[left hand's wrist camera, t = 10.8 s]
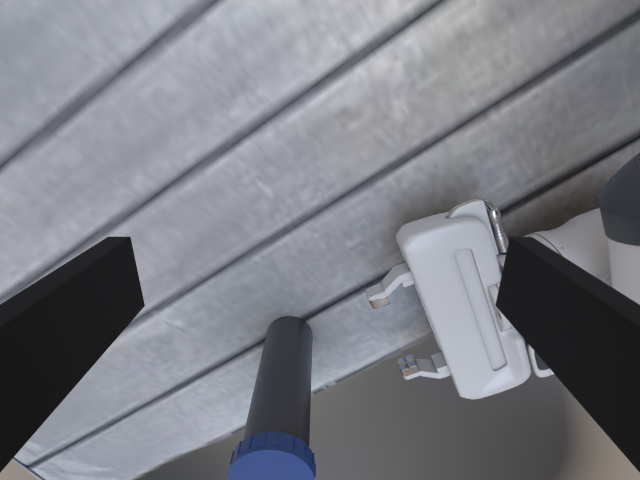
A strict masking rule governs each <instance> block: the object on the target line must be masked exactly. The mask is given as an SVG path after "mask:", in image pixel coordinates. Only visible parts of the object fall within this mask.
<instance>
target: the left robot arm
mask: <svg viewBox="0 0 640 480" xmlns="http://www.w3.org/2000/svg"><path fill="white" fill-rule="evenodd" d="M144 306H145V305H144V300H143V295H142V291H141V286H140V281H139V276H138V272H137V267H136V262H135V257H134V252H133V248H132V243H131V238H130V237H107V238H106V239H104V240H102V241H101V242H99V243H98V244H96V245H94V246H93V247H91V248H90V249H88V250H86V251H85V252H83V253H82V254H80V255H79V256H77V257H75V258H74V259H72V260H71V261H69V262H67V263H66V264H64V265H63V266H61V267H59V268H58V269H56V270H55V271H53V272H52V273H50V274H48V275H47V276H45V277H44V278H42V279H40V280H39V281H37V282H36V283H34V284H32V285H31V286H29V287H28V288H26V289H24V290H23V291H21V292H20V293H18V294H17V295H15V296H13V297H12V298H10V299H9V300H7V301H5V302H4V303H2V304H1V305H0V472H1V471H2V470H3V469H4V467H5V466H6V465H7V464H8V463H9V462H10V460H11V459H12V458H13V457H14V456H15V455H16V454H17V452H18V451H19V450H20V449H21V448H22V447H23V446H24V444H25V443H26V442H27V441H28V440H29V439H30V437H31V436H32V435H33V434H34V433H35V432H36V431H37V429H38V428H39V427H40V426H41V425H42V424H43V422H44V421H45V420H46V419H47V418H48V417H49V416H50V414H51V413H52V412H53V411H54V410H55V409H56V407H57V406H58V405H59V404H60V403H61V402H62V401H63V399H64V398H65V397H66V396H67V395H68V394H69V392H70V391H71V390H72V389H73V388H74V387H75V386H76V384H77V383H78V382H79V381H80V380H81V379H82V377H83V376H84V375H85V374H86V373H87V372H88V371H89V369H90V368H91V367H92V366H93V365H94V364H95V362H96V361H97V360H98V359H99V358H100V357H101V356H102V354H103V353H104V352H105V351H106V350H107V349H108V347H109V346H110V345H111V344H112V343H113V342H114V341H115V339H116V338H117V337H118V336H119V335H120V334H121V332H122V331H123V330H124V329H125V328H126V327H127V326H128V324H129V323H130V322H131V321H132V320H133V319H134V317H135V316H136V315H137V314H138V313H139V312H140V311H141V309H142V308H143V307H144ZM495 306H496V307H497V308H498V309H499V311H500V312H501V313H502V314H503V315H504V316H505V317H506V319H507V320H508V321H509V322H510V323H511V324H512V326H513V327H514V328H515V329H516V330H517V331H518V332H519V334H520V335H521V336H522V337H523V338H524V339H525V341H526V342H527V343H528V344H529V345H530V346H531V347H532V349H533V350H534V351H535V352H536V353H537V354H538V356H539V357H540V358H541V359H542V360H543V361H544V362H545V364H546V365H547V366H548V367H549V368H550V369H551V371H552V372H553V373H554V374H555V375H556V376H557V377H558V379H559V380H560V381H561V382H562V383H563V384H564V386H565V387H566V388H567V389H568V390H569V391H570V392H571V394H572V395H573V396H574V397H575V398H576V399H577V400H578V402H579V403H580V404H581V405H582V406H583V407H584V409H585V410H586V411H587V412H588V413H589V414H590V416H591V417H592V418H593V419H594V420H595V421H596V422H597V424H598V425H599V426H600V427H601V428H602V429H603V430H604V432H605V433H606V434H607V435H608V436H609V437H610V439H611V440H612V441H613V442H614V443H615V444H616V445H617V447H618V448H619V449H620V450H621V451H622V452H623V453H624V455H625V456H626V457H627V458H628V459H629V460H630V462H631V463H632V464H633V465H634V466H635V467H636V469H637V470H638V471H639V472H640V305H639V304H638V303H636V302H635V301H633V300H631V299H630V298H628V297H627V296H625V295H623V294H622V293H620V292H619V291H617V290H616V289H614V288H612V287H611V286H609V285H608V284H606V283H604V282H603V281H601V280H600V279H598V278H596V277H595V276H593V275H592V274H590V273H588V272H587V271H585V270H584V269H582V268H581V267H579V266H577V265H576V264H574V263H573V262H571V261H569V260H568V259H566V258H565V257H563V256H561V255H560V254H558V253H557V252H555V251H554V250H552V249H550V248H549V247H547V246H546V245H544V244H542V243H541V242H539V241H538V240H536V239H534V238H533V237H510V238H509V243H508V248H507V252H506V257H505V262H504V267H503V272H502V276H501V281H500V286H499V291H498V295H497V300H496V305H495Z"/></svg>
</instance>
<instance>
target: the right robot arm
mask: <svg viewBox="0 0 640 480" xmlns="http://www.w3.org/2000/svg"><path fill="white" fill-rule="evenodd" d="M598 204H599V208H597V209H594V210H591V211H588V212H586V213H583V214H581V215H578V216H576V217H573V218H572V219H570V220H569V221H567V222H566V223H565V224H563V225H562V226H560V227H558V228H556V229H552V230H548V231H540V232H534V233H531V234H528V235H526V236H523V237H533V238H534V239H536V240H538V241H539V242H541V243H542V244H544V245H546V246H547V247H549V248H550V249H552V250H554V251H555V252H557V253H558V254H560V255H561V256H563V257H565V258H566V259H568V260H569V261H571V262H573V263H574V264H576V265H577V266H579V267H581V268H582V269H584V270H585V271H587V272H588V273H590V274H592V275H593V276H595V277H596V278H598V279H600V280H601V281H603V282H604V283H606V284H608V285H609V286H611V287H612V288H614V289H616V290H617V291H619V292H620V293H622V294H623V295H625V296H627V297H628V298H630V299H631V300H633V301H635V302H636V303H638V304H639V305H640V153H639V154H637V155H636V156H635V157H633V158H632V159H631V160H630V161H629V162H627V163H626V164H625V165H624V166H623V167H622V168H621V169H620V170H619V171H618V172H617V173H616V174H615V175H614V176H613V177H612V178H611V179H610V180H609V181H608V183H607V184H606V185H605V186H604V187H603V188H602V190H601V191H600V192H599V195H598ZM485 205H486V206H487V207H488V209H487V210H486V207H485ZM396 240H397V242H398V245H399V247H400V250H401V252H402V255H403V258H404V260H405V262H404V263H401V264H399V265H396V266H394V267H393V268H392V269H391V271H390V272H389V273H388V274H387V275H386V277H385V278H384V279H383V280H382V281H381V282H382V283H379V284H377V285H374V286H372V287H369V288H367V289H366V295H367V298H368V300H369V302H370V304H371V306H372V308H373V309H377V308H379V307H380V306H385V305H387V304H390V302H389V300H388V296H389V295H390V294H391V293H392V292H393V291H394V290H395V289H396V288H397V287H398V286H399V285H400V284H401V283H402V285H403V287H408V286H410V285H413V284H414V285H415V288H416V291H417V293H418V296H419V298H420V301H421V303H422V306H423V308H424V311H425V313H426V316H427V319H428V321H429V324H430V326H431V329H432V331H433V334H434V336H435V339H436V341H437V344H438V347H439V349H440V352H439V353H436V354H433V355H431V358H432V360H427V359H414V357H413V355H412V354H410V355H408V356H406V357H405V358H404V357H402V358H400V359H399V360H398V364H399V368H400V370H401V372H402V375H403V377H404V379H411V378H414V377H417V376H420V375H421V376H424V377H432V378H439V379H440V378H444V377H447V376H450V377H451V379H452V381H453V384H454V386H455V388H456V390H457V392H458V394H459V395H460V396H461V397H463V398H468V399H480V398H483V397H487V396H490V395H493V394H497V393H499V392H502V391H505V390H508V389H510V388H513V387H516V386H518V385H520V384H522V383H523V382H525V381H526V380H527V379H528V377H529V376H530V374H531V369H532V370H533V372H534V373H535V374H536V375H537V376H538V377H547V376H550V375H553V374H554V373H553V372H552V371H551V369H550V368H549V367H548V366H547V365H546V364H545V362H544V361H543V360H542V359H541V358H540V357H539V356H538V354H537V353H536V352H535V351H534V350H533V349H532V347H531V346H530V345H529V344H528V343H527V342H526V341H525V339H524V338H523V337H522V336H521V335H520V334H519V332H518V331H517V330H516V329H515V328H514V327H513V326H512V324H511V323H510V322H509V321H508V320H507V319H506V317H505V316H504V315H503V314H502V313H501V312H500V311H499V309H498V308H497V307H496V306H495V305H496V300H497V295H498V291H499V286H500V281H501V276H502V272H503V267H504V262H505V257H506V252H507V248H508V243H509V242H508V239H507V235H506V232H505V230H504V228H503V225H502V217H501V213H500V211H499V209H498V207H496V206H493V205H492V204H491V203H490V202H489V201H488V200H485V199H482V198H475V199H471V200H468V201H466V202H463V203H461V204H459V205H456V206H455V207H453V208H452V209H451V210H450V212H444V213H440V214H436V215H432V216H428V217H425V218H421V219H418V220H415V221H412V222H409V223H407V224H404V225H403V226H402V227H401V228H400V230H399V231H398V233H397V234H396Z"/></svg>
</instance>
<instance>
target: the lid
mask: <svg viewBox="0 0 640 480" xmlns="http://www.w3.org/2000/svg"><path fill="white" fill-rule="evenodd" d="M315 477H316V464H315V460H314V453H312V451H311V449H310V448H309V447H308V446H307V444H306V443H304V442H303V441H302V440H300V439H299V438H297V437H295V436H292V435H290V434H286V433H282V432H261V433H257V434H254V435H251V436H249V437H247V438H246V439H244V440H243V441H241V442H240V443H239V444H238V446H237V447H236V448H235V450H234V451H233V453H232V457H231V461H230V467H229V471H228V480H314V478H315Z"/></svg>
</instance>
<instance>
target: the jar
mask: <svg viewBox="0 0 640 480" xmlns="http://www.w3.org/2000/svg"><path fill="white" fill-rule="evenodd" d="M311 366H312V331H311V329H310V327H309V326H308V324H307V323H306V322H304V321H303V320H301V319H299V318H296V317H282V318H279V319H277V320H275V321H274V322H273V323H272V324H271V325H270V326H269V328H268V331H267V335H266V339H265V344H264V348H263V352H262V357H261V361H260V365H259V370H258V374H257V379H256V383H255V387H254V392H253V396H252V401H251V405H250V409H249V414H248V418H247V422H246V427H245V431H244V436H243V440H244V439H246V438H247V437H249V436H251V435H254V434H257V433H261V432H282V433H286V434H290V435H292V436H295V437H297V438H299V439H300V440H302V441H303V442H304V443H306V444H307V446H308V447H309V432H310V399H311ZM243 440H242V441H243Z"/></svg>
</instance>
